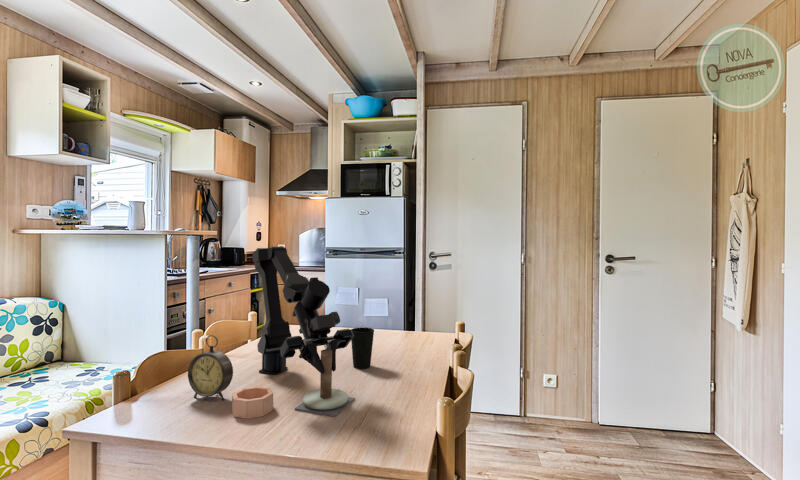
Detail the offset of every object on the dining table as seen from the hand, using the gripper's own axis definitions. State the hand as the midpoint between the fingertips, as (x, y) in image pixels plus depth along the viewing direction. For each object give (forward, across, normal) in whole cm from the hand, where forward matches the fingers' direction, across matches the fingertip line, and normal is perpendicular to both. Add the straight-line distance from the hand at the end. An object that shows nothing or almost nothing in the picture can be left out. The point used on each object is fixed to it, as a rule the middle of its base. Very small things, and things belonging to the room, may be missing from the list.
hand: (328, 371), depth 103 cm
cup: (-9, +25, +22) cm, 34 cm away
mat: (+5, 0, +7) cm, 9 cm away
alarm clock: (-10, -21, +23) cm, 33 cm away
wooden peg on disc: (+4, 0, +6) cm, 8 cm away
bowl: (0, -16, +12) cm, 20 cm away
